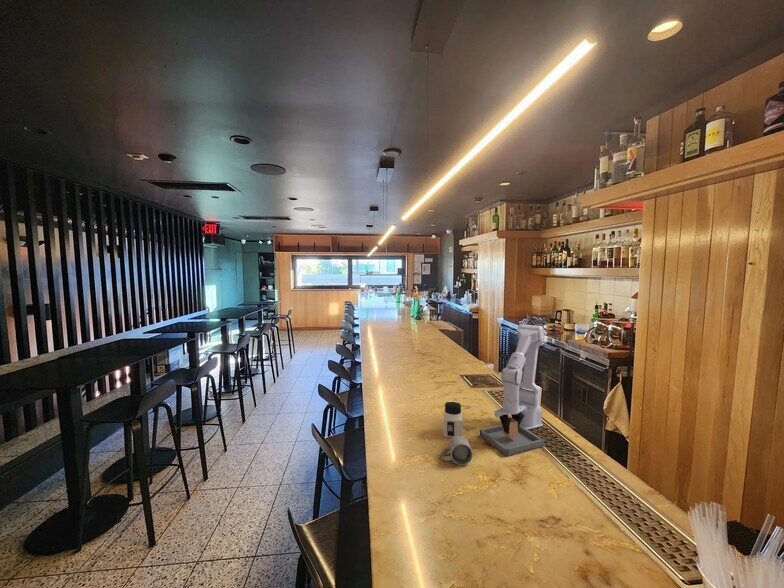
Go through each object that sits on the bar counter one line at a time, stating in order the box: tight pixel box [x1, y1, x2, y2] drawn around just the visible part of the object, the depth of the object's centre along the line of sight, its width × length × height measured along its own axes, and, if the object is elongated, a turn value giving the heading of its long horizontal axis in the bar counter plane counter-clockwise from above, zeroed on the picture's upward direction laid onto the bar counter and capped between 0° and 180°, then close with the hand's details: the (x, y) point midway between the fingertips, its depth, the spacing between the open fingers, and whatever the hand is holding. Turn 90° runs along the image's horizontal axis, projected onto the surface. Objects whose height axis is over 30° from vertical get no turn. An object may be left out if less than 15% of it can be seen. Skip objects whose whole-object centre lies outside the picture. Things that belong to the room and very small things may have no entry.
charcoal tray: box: [479, 424, 545, 458], centre depth 124 cm, size 18×16×2 cm
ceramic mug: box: [440, 435, 474, 466], centre depth 113 cm, size 11×8×8 cm
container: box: [442, 400, 464, 438], centre depth 131 cm, size 8×8×13 cm
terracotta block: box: [503, 416, 518, 438], centre depth 124 cm, size 4×4×6 cm
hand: (510, 431), depth 124 cm, fingers closed on terracotta block, 4 cm apart
